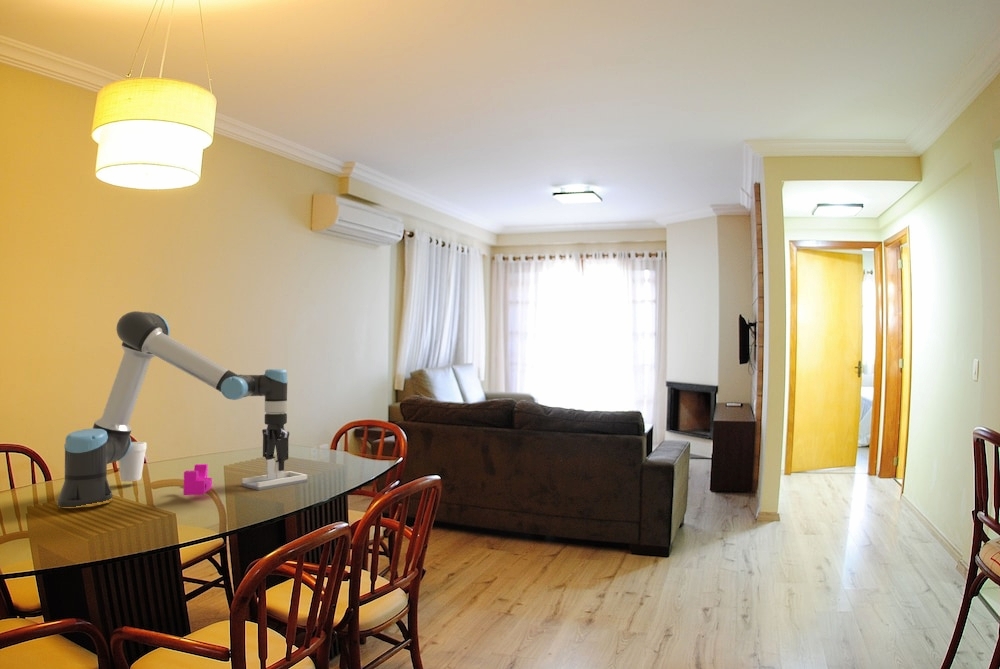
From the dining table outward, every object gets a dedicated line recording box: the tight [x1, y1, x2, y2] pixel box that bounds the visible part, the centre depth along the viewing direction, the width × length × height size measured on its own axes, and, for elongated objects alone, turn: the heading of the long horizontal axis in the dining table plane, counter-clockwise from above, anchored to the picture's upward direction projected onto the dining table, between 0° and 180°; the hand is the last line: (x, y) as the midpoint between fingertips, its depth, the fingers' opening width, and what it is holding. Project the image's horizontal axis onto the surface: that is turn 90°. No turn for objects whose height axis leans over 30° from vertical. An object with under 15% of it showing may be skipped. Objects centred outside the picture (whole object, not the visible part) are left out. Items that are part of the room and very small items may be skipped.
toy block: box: [183, 463, 213, 496], centre depth 228 cm, size 15×6×8 cm, turn 10°
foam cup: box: [117, 441, 147, 482], centre depth 244 cm, size 10×9×13 cm
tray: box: [241, 470, 308, 491], centre depth 238 cm, size 19×11×2 cm, turn 140°
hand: (275, 478), depth 238 cm, fingers open, 5 cm apart
